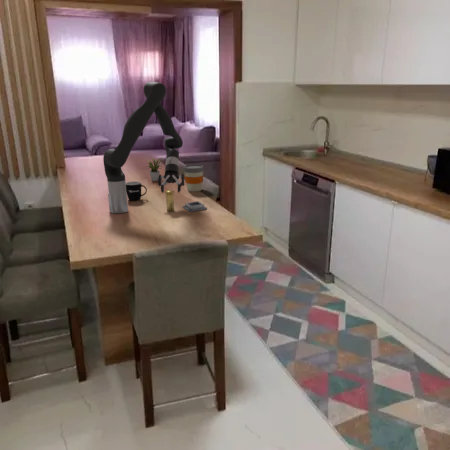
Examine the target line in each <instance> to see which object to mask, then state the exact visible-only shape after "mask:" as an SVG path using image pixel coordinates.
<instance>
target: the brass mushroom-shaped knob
mask: <svg viewBox="0 0 450 450" xmlns="http://www.w3.org/2000/svg"><path fill="white" fill-rule="evenodd" d="M164 193H165V201H166V203H165V204H166V212H169V213H172V212H175V200H174V199H175V198H174V194H175V191H174V190H171V189H170V190H164Z"/></svg>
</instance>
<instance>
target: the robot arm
mask: <svg viewBox="0 0 450 450" xmlns="http://www.w3.org/2000/svg"><path fill="white" fill-rule="evenodd" d="M166 92H167V88H166V86H165V84H164V83H162V82H158V81H149V82H148V81H147V82H146V83H145V84H144V86H143V94H144V96H145V98H146V99H145V101H144V102H143V103H142V104H141V105H140V106H139V107H137V108H136V109H135V110H134V111H133V112H132V113H131V114H130V115H129V117H128V118H127V121H126V122H125V123H124V126H123V130H122V137H121V139H120V141H119V143H118V144H117V147H115V149H114V148H109V149H106V151H105V152H104V154H103V159H102V161H103V166H104V174H105V176H106V180H107V189H108V193H107V200H108V208H109V212H110V213H111V214H112V215H113V214H124V213H127V212H128V211H129V205H128V196H127V192H126V183H127V182H126V175H125V173H124V171H123V169H122V167H123V166H125V164H126V162H127V160H128V158H129V156H130V153H131V152H132V149H133V148H134V145H136V143H137V142H138V141H137V140H138V139H139V137H140V136H141V134H142V133H143V131H144V129H145V127H146V125H147V124H148V122H149V121H150V119H151V117H152V116H153V114H154V115H155V116H156V119H157V121H158V123H159V125H160V128H161V130H162V133H163V135H164V136H167V137H166V138H165V139H164V141H163V143H164V148H165V153H166V156H165V157H166V158H165V165H164V175H162V174H159V178H158V181H157V185H158V187H160V192H161V193H162V194H163V193H165V186H166V185H167V184H176V185H177V193H180V192H181V190H182V186H185V174H182V173H181V174H179V172H180V161H179V160H180V158H179V157H180V152H179V151H178V150H177V149H181V148H182V147H183V144H184V141H183V139H182V136H180V134H179V133H178V131H177V130H176V127H175V125H174V122H173V119H172V118H171V116H170V115H169V113H168V112H167V110H166V109H165V107H164V106H163V104H162V102H163V100H164V99H165V97H166V94H167V93H166ZM168 136H169V137H168ZM179 179H180V180H181V182H180V181H179Z"/></svg>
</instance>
